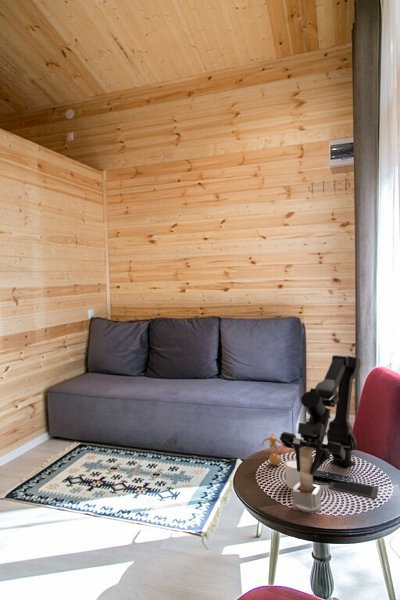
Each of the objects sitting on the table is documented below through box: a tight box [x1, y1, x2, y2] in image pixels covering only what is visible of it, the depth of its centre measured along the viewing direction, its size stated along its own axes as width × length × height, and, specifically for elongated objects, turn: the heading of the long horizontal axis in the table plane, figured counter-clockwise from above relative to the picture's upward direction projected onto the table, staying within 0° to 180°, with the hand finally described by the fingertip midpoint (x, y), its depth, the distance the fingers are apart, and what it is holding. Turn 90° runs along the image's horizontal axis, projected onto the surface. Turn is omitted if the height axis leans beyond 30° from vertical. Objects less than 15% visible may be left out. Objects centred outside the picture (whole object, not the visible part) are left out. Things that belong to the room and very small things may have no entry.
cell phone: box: [328, 481, 379, 500], centre depth 128 cm, size 7×14×1 cm, turn 59°
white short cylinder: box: [283, 459, 300, 490], centre depth 132 cm, size 7×7×7 cm
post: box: [300, 447, 314, 493], centre depth 119 cm, size 4×4×12 cm
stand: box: [292, 482, 322, 513], centre depth 120 cm, size 8×8×5 cm
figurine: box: [261, 433, 286, 466], centre depth 146 cm, size 8×6×12 cm
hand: (304, 473), depth 118 cm, fingers closed on post, 4 cm apart
